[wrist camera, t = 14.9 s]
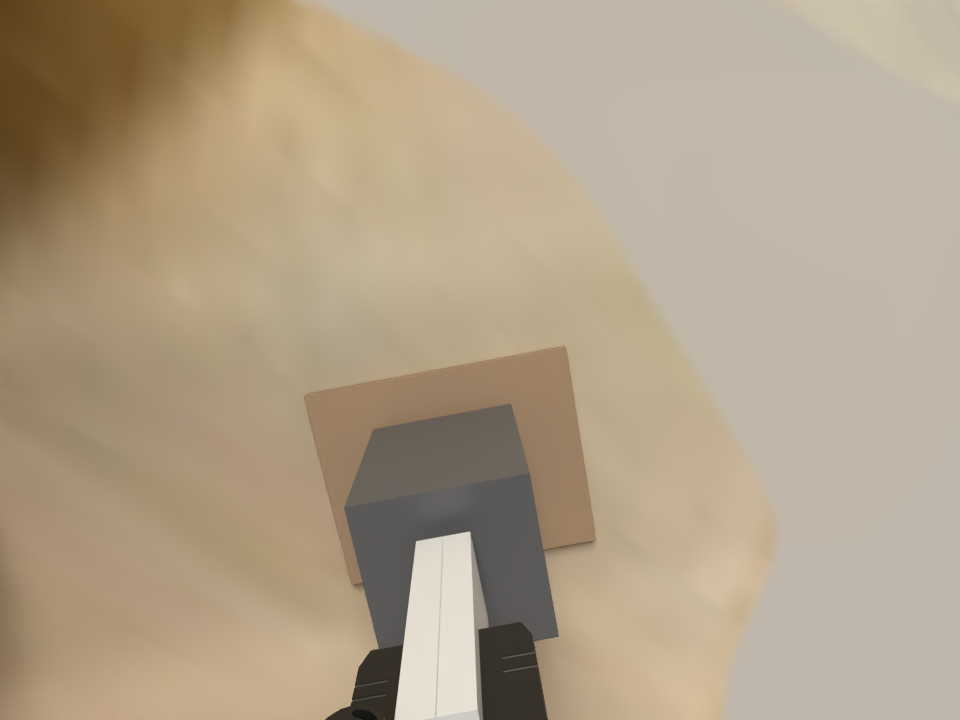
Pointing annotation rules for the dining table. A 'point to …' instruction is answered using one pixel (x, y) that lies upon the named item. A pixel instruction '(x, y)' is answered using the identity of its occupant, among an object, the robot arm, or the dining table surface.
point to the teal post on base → (509, 380)
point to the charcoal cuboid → (450, 516)
